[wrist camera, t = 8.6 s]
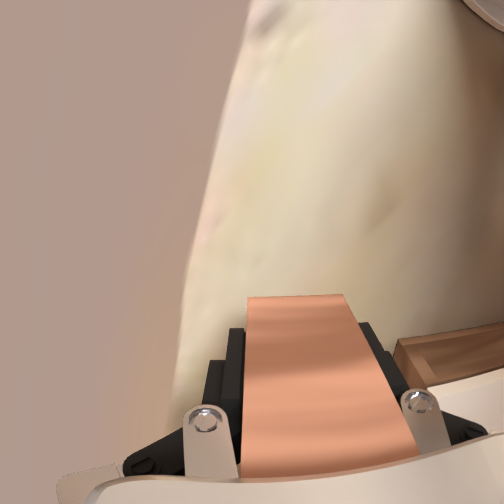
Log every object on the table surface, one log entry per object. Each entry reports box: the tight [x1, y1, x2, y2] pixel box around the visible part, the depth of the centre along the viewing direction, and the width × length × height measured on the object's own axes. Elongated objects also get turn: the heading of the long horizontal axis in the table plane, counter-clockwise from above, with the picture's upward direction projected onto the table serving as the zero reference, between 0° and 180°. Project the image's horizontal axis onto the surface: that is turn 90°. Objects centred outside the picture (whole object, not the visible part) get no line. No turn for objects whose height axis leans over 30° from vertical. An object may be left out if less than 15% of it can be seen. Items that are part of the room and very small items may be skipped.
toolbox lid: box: [427, 368, 504, 433], centre depth 16 cm, size 18×13×4 cm
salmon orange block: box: [240, 294, 421, 478], centre depth 9 cm, size 4×4×10 cm
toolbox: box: [393, 322, 504, 390], centre depth 21 cm, size 18×13×5 cm
